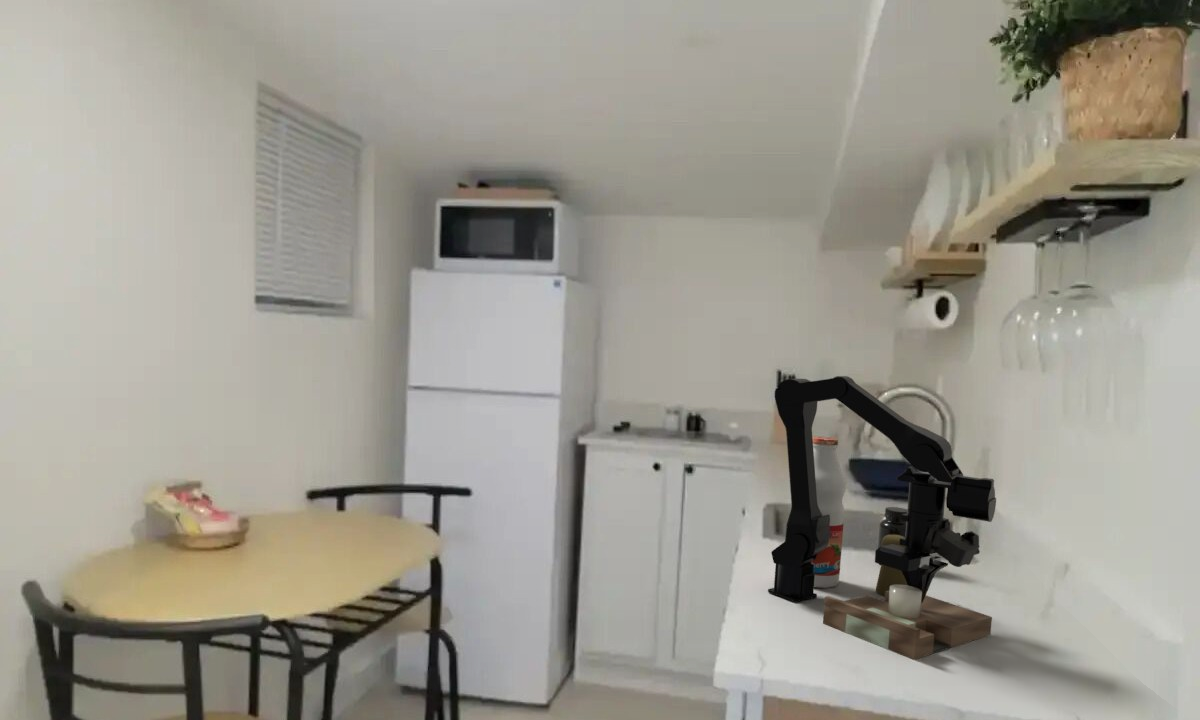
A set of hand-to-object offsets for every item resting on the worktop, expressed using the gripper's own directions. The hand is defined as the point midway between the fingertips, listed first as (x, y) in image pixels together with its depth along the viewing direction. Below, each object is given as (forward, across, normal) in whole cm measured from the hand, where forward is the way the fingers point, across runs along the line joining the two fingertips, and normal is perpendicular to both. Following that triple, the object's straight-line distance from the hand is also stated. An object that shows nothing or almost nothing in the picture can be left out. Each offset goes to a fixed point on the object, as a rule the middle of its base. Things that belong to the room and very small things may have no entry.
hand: (918, 602), depth 145 cm
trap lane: (+4, -3, 0) cm, 5 cm away
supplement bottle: (+4, +30, +25) cm, 40 cm away
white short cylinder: (+1, -4, 0) cm, 4 cm away
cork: (+4, +12, +13) cm, 18 cm away
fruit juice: (+4, +4, +25) cm, 26 cm away
